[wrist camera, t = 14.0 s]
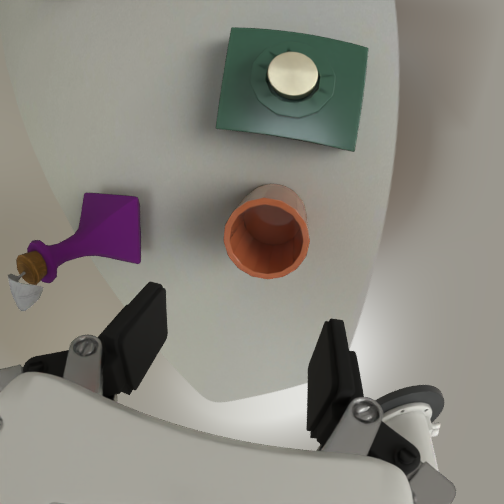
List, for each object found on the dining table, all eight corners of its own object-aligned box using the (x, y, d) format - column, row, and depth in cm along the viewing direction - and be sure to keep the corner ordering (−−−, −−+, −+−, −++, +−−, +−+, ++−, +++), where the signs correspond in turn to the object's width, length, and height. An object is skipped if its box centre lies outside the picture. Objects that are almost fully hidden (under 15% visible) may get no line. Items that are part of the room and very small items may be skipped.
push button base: (361, 57, 20) (373, 41, 15) (347, 150, 24) (359, 153, 19) (238, 38, 21) (226, 19, 16) (224, 129, 25) (209, 128, 20)
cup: (311, 190, 26) (317, 207, 20) (299, 252, 29) (299, 285, 22) (245, 178, 27) (228, 192, 20) (237, 240, 29) (220, 270, 23)
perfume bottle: (104, 243, 32) (3, 319, 16) (100, 186, 29) (-22, 240, 13) (153, 252, 32) (53, 349, 15) (152, 190, 29) (23, 256, 12)
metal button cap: (318, 63, 17) (320, 56, 16) (312, 103, 19) (314, 99, 17) (273, 56, 18) (271, 48, 16) (267, 96, 19) (264, 91, 17)
